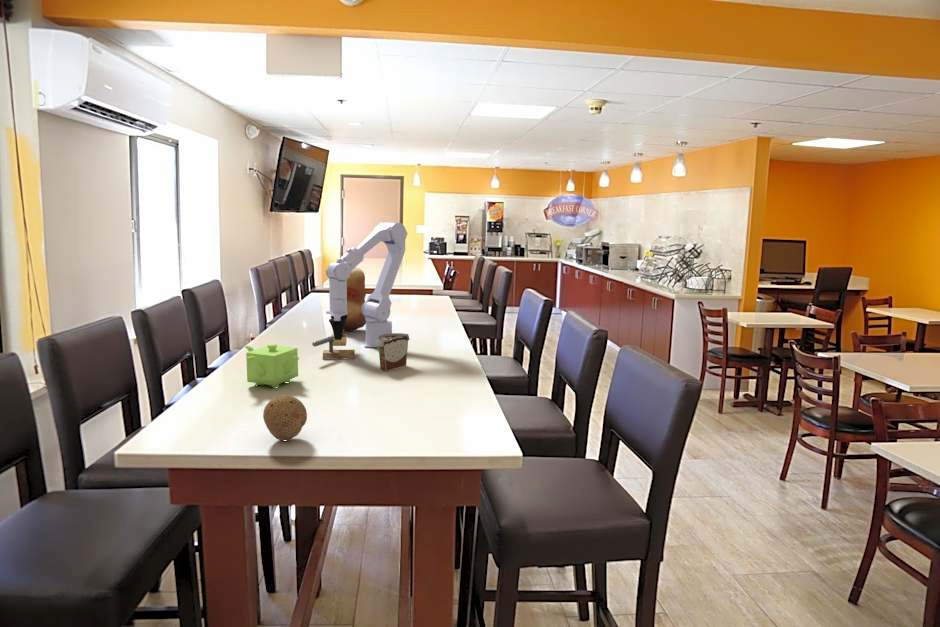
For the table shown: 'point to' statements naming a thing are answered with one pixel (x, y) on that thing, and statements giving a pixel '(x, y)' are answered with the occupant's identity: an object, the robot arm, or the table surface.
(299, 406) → the natural sponge
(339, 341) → the tan wooden block
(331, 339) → the lever
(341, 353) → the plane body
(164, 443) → the table surface
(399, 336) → the food container
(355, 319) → the butternut squash
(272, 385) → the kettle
